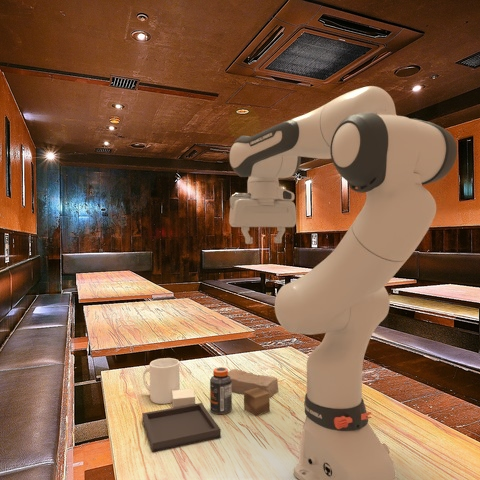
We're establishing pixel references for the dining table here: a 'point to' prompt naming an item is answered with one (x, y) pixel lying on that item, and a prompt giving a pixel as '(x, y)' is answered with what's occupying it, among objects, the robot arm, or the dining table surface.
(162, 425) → the tray
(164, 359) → the mug
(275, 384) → the brick
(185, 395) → the ceramic block
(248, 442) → the dining table surface
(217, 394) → the pill bottle
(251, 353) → the dining table surface
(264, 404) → the walnut cube
